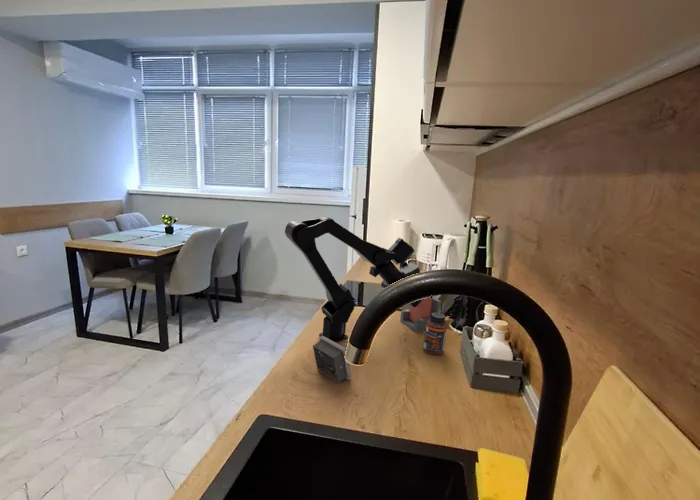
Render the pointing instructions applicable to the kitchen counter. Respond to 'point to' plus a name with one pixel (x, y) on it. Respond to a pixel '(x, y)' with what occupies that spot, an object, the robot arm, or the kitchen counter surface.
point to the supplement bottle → (435, 334)
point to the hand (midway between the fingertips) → (415, 304)
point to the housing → (422, 322)
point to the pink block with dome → (421, 310)
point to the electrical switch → (331, 359)
